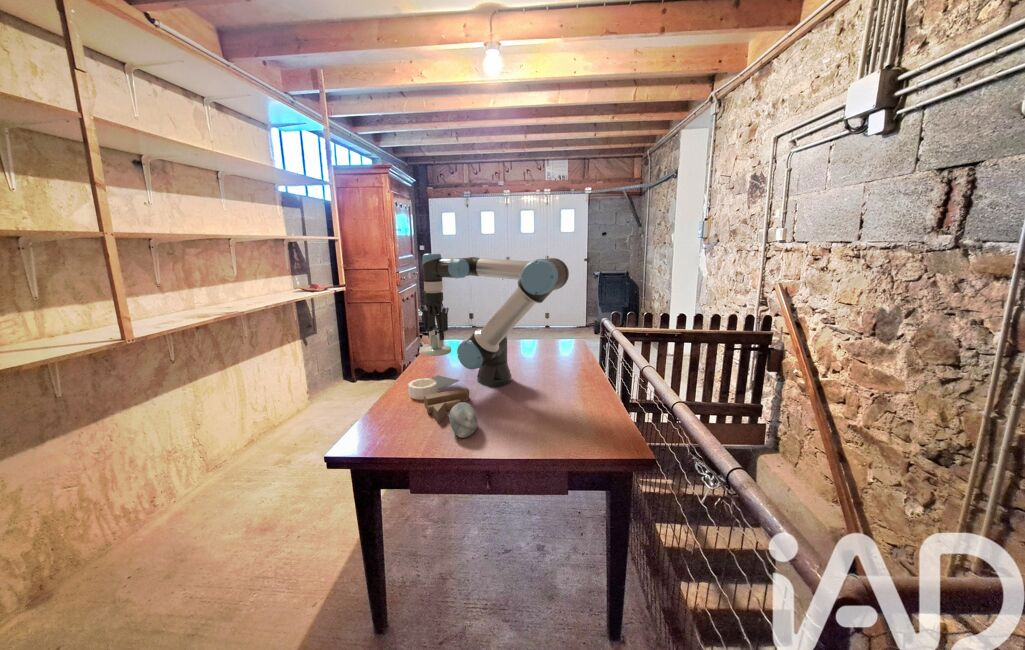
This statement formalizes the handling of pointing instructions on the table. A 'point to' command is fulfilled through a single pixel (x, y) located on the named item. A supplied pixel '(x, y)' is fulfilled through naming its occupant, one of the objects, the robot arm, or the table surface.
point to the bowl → (422, 388)
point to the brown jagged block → (444, 402)
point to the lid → (436, 348)
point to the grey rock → (463, 419)
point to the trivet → (444, 381)
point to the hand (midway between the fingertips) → (436, 346)
